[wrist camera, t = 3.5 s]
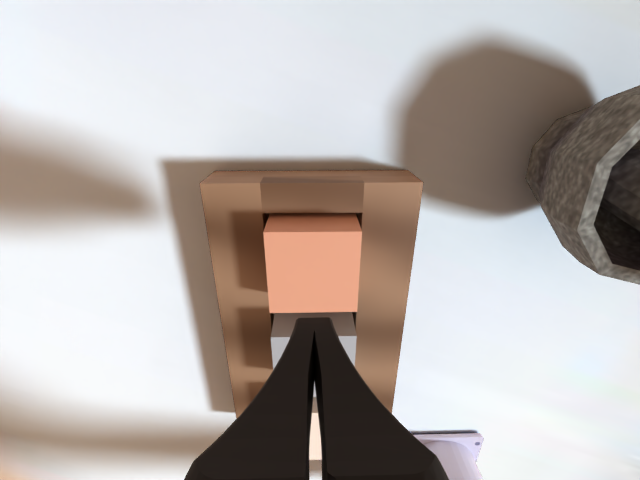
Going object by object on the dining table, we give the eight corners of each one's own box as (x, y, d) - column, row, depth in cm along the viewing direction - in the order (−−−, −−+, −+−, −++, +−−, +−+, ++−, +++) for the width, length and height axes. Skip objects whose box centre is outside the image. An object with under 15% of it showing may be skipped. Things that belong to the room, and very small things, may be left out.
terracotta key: (350, 279, 22) (357, 311, 18) (275, 280, 22) (269, 313, 18) (353, 208, 20) (362, 231, 16) (271, 209, 19) (263, 232, 16)
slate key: (347, 356, 24) (352, 396, 21) (280, 357, 24) (275, 398, 21) (350, 300, 22) (356, 335, 19) (276, 301, 22) (270, 337, 19)
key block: (380, 411, 29) (387, 444, 27) (247, 414, 29) (241, 447, 26) (408, 170, 20) (423, 182, 17) (214, 171, 20) (199, 183, 17)
